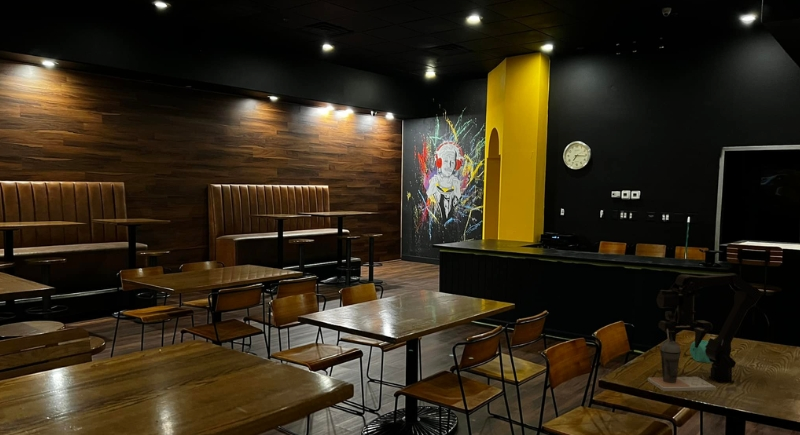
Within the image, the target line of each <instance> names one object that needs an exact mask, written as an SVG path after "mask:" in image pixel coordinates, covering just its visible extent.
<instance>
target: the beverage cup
mask: <svg viewBox="0 0 800 435" xmlns="http://www.w3.org/2000/svg"><path fill="white" fill-rule="evenodd" d="M666 335H667V340H665V341H663V342H662V344H661V345H660V347H659V353H660V356H661V357H660V358H661V360H660V361H661V370H662V371H661V372H662V374H661V375H662V377H663V381H664V382H667V383H676V380H677V377H678V370H679V364H680V363H679V362H680V357H681V352H682V351H681V347H680V345H679V344H678V343H677V342H676V341H672V340H669V333H668V329H667V333H666Z"/></svg>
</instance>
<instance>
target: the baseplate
mask: <svg viewBox="0 0 800 435" xmlns="http://www.w3.org/2000/svg"><path fill="white" fill-rule="evenodd" d="M647 382H649V383H650V384H652V385H653V386H655V387H657V388H658V389H659V390H661V391H663V392H688V391H689V392H691V391H693V392H694V391H695V392H696V391H717V386H715V385H713V384H711V383H710V382H708V381H706V380H704V379H703V378H700V377H699V376H677V380H676V383H667V382H664V381H663V376H661V377H647Z"/></svg>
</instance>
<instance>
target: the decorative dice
mask: <svg viewBox="0 0 800 435" xmlns="http://www.w3.org/2000/svg"><path fill="white" fill-rule="evenodd" d="M708 341H709V340H703V339H702V341H701V342H700V344H699V346H698V348H696V347H695V340H694V341H693V342H691V344H690V347H689V353H690V356H691V358H692V359H693V360H694V361H696V362H698V363H703V364H712V363H713V362H710V360H709V357H707V355H706V352H705V350H706V347H705V346H706V345H707V344H708Z"/></svg>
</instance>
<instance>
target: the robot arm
mask: <svg viewBox="0 0 800 435" xmlns="http://www.w3.org/2000/svg"><path fill="white" fill-rule="evenodd" d="M728 285H729V287H730V289H731V290H733V292H734V296H733V306H732V308H731V309H730V311H729V314H728V315H727V318H726V320H725V322H724V324H723V325H722V328H721V330H720V332H719V333H718V335H717V336H716V337H715V338H712V337H711V338H709V339H708V340H707V341H708V344H707V345H706V346H705V347H706V350H705V352H706V355H707V357H709V360H710V362H713V363H711V367H710V376H708V378H709V379H710V380H712V381H714V382H716V383H719V384H720V383H724V384H725V383H735V380H733V377H732V376H733V368H735V366H736V364H737V362H736V361H735V359H733V358H732V356H731V353H732V341H733V339H734V337H735V336H736V334H737V332H738V330H739V328H740V326H741V324H742V323H743V320H744V318H745V316H746V315H747V312H748V310H750V309H752V308H753V307H754V306H755V305H756V304H757V303H758V301H759V300H760V298H761V296H762V294H761V293H762V292H761V290H760V289H759V288H758V287H756V286H753V285H752V284H751V283H749V282H747V281H746V280H744V279H743V278H742V277H741V276H739V274H736V273H730V272H729V273H728V272H727V273H723V274H710V275H691V274H679V275H678V276H677V277H676V278H675V281H674V283H673V284H672V285H671V286H670V288H669V289H668V290H667V289H666V290H665V289H659V292H658V294H657V297H656V299H655V300H656V304H657V307H659V309H666V308H667V309H674V308H675V309H674V312H673V311H671V310H666V311H665V312H664V317H665V318H664V319H665V320H660V321H659V322H658V326H657V327H658V328H659V329H660V330H662V331H663V332H664V333H666V334H667V329H668V333H669V340H672V341H675V342H676V338H677V331H676V329H693V331H694V341H695V347H696V348H698V346H699V344H700V342H701V341H702V340H703V339H704V337H705V336H706V335H707V334H708V333H710V331H713V324H712V323H711V322H709V321H706V320H694V319H695V318H694V317H695V316H694V315H696V314H697V312H696V310H695V297H700V296H701V295H700V294H699V293H698V292H697V291H698V290H700V289H702V288H705V287H717V286H728Z"/></svg>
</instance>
